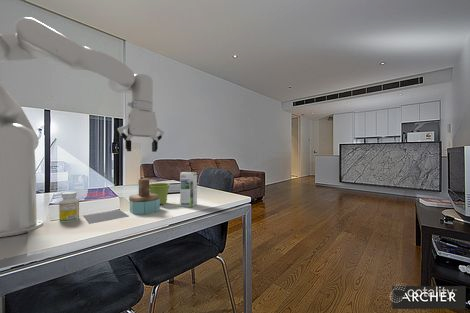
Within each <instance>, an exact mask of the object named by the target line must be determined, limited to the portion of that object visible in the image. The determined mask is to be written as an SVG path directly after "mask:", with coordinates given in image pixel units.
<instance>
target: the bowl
mask: <svg viewBox="0 0 470 313" xmlns="http://www.w3.org/2000/svg"><path fill="white" fill-rule="evenodd" d="M160 210H161V204H160V198H158V199H156V200H153V201H147V202H132V201H129V212H130V213H131V214H133V215H147V214H148V215H149V214H153V213H157V212H158V211H160Z"/></svg>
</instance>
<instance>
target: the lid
mask: <svg viewBox="0 0 470 313" xmlns="http://www.w3.org/2000/svg"><path fill="white" fill-rule="evenodd" d="M149 184H150V179H148V178H141V179H140V178H139V179H138V193H136V194H133V195H132V194H131V195H129V197H128V198H129V199H128V201H129V202H130V201H132V202H147V201H153V200H156V199H158V194H153V193H150V189H149Z"/></svg>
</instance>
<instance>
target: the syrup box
mask: <svg viewBox="0 0 470 313" xmlns="http://www.w3.org/2000/svg"><path fill="white" fill-rule="evenodd" d="M179 191H180V194H179V195H180V196H179V199H180V200H179V204H180V205H179V206H180V208H181V207H184V208H185V207H186V208H193V207H195V206H196V205H197V204H198V172H196V171H195V172H193V171H182V172H180V173H179Z"/></svg>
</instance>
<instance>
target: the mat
mask: <svg viewBox="0 0 470 313" xmlns="http://www.w3.org/2000/svg"><path fill="white" fill-rule="evenodd" d="M82 217H83V218H84V219H85V221H86V222H87V223H88V224H89V225H90V224H95V223H101V222H107V221H112V220H118V219H124V218H128V217H130V216H129V215H128V214H126V213H125V212H124V211H122V210H121V209H115V210H111V211H110V210H109V211H104V212H98V213H91V214H86V215H82Z"/></svg>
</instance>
